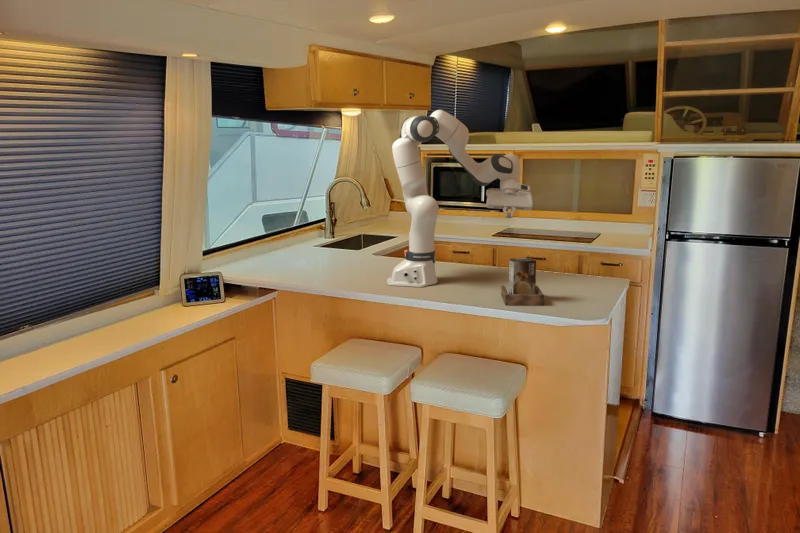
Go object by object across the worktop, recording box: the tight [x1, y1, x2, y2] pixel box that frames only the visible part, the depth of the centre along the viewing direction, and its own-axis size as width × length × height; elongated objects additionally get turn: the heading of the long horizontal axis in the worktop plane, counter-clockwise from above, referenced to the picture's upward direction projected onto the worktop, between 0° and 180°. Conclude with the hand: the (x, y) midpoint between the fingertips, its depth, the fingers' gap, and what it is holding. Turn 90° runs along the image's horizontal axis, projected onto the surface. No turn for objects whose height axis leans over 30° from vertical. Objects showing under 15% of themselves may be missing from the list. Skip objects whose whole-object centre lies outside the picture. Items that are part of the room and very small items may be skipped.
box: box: [500, 284, 545, 307], centre depth 230 cm, size 14×15×4 cm
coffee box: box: [508, 257, 537, 295], centre depth 230 cm, size 9×6×16 cm
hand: (508, 217), depth 255 cm, fingers closed
